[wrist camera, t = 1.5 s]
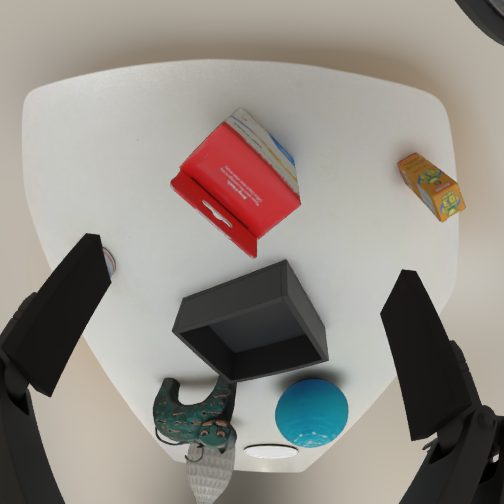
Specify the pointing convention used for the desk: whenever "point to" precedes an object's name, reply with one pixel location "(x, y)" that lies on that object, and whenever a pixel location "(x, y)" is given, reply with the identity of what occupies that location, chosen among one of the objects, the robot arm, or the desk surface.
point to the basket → (253, 325)
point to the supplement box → (432, 186)
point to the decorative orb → (311, 413)
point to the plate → (270, 451)
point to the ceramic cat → (197, 417)
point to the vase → (209, 472)
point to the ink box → (240, 180)
